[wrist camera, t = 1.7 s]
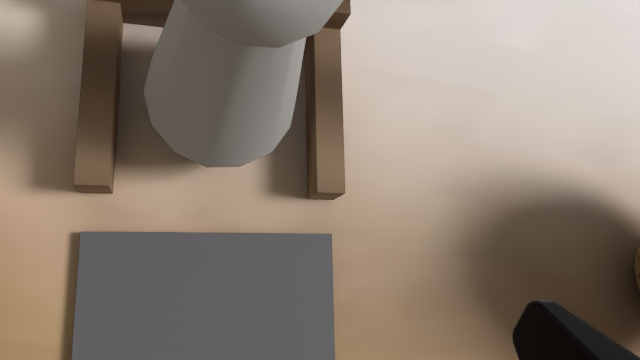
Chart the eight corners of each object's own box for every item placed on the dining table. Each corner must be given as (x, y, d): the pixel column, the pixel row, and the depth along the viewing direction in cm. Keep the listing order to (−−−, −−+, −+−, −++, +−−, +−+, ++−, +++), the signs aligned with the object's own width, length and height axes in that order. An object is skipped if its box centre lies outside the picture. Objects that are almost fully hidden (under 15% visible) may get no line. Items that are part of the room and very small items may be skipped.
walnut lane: (333, 199, 24) (356, 186, 21) (80, 192, 21) (66, 176, 18) (329, 25, 25) (349, -8, 22) (94, -3, 22) (84, -46, 20)
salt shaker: (301, 89, 24) (442, -119, 12) (252, 201, 23) (356, 93, 10) (181, 29, 23) (202, -264, 11) (120, 142, 22) (64, -56, 9)
